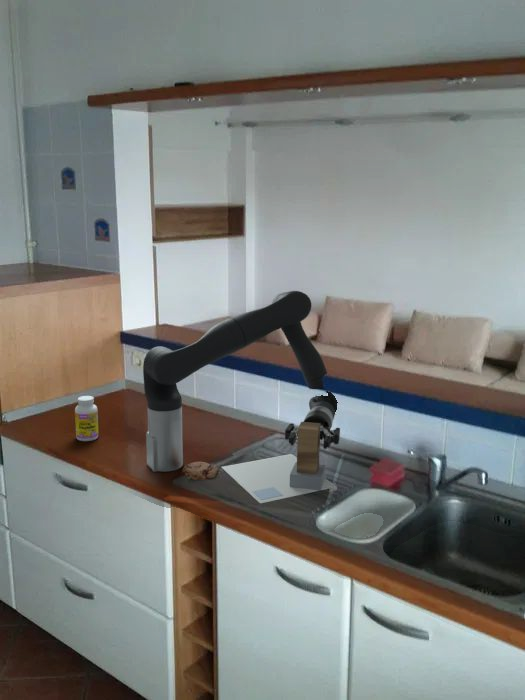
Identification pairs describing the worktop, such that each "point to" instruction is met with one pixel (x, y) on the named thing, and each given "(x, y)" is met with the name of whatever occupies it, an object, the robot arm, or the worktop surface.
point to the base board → (277, 478)
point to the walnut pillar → (308, 447)
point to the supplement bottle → (86, 419)
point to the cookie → (200, 471)
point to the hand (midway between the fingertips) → (308, 443)
